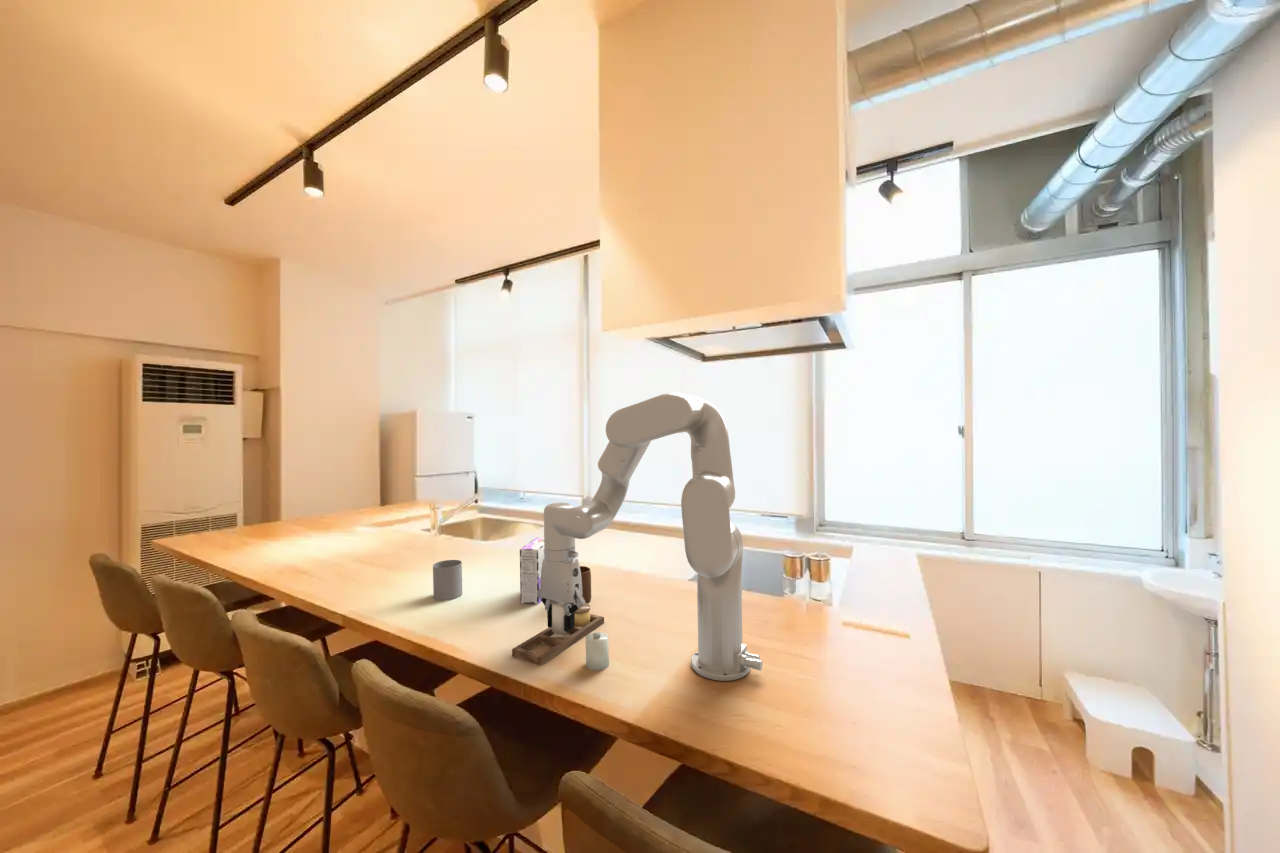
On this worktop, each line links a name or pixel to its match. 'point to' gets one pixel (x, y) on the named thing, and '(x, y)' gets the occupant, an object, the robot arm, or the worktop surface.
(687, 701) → the worktop surface
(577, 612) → the honey jar
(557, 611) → the cylinder
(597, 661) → the sugar pot
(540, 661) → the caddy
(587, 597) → the mug
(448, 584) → the cup
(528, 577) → the candy box
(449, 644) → the worktop surface
